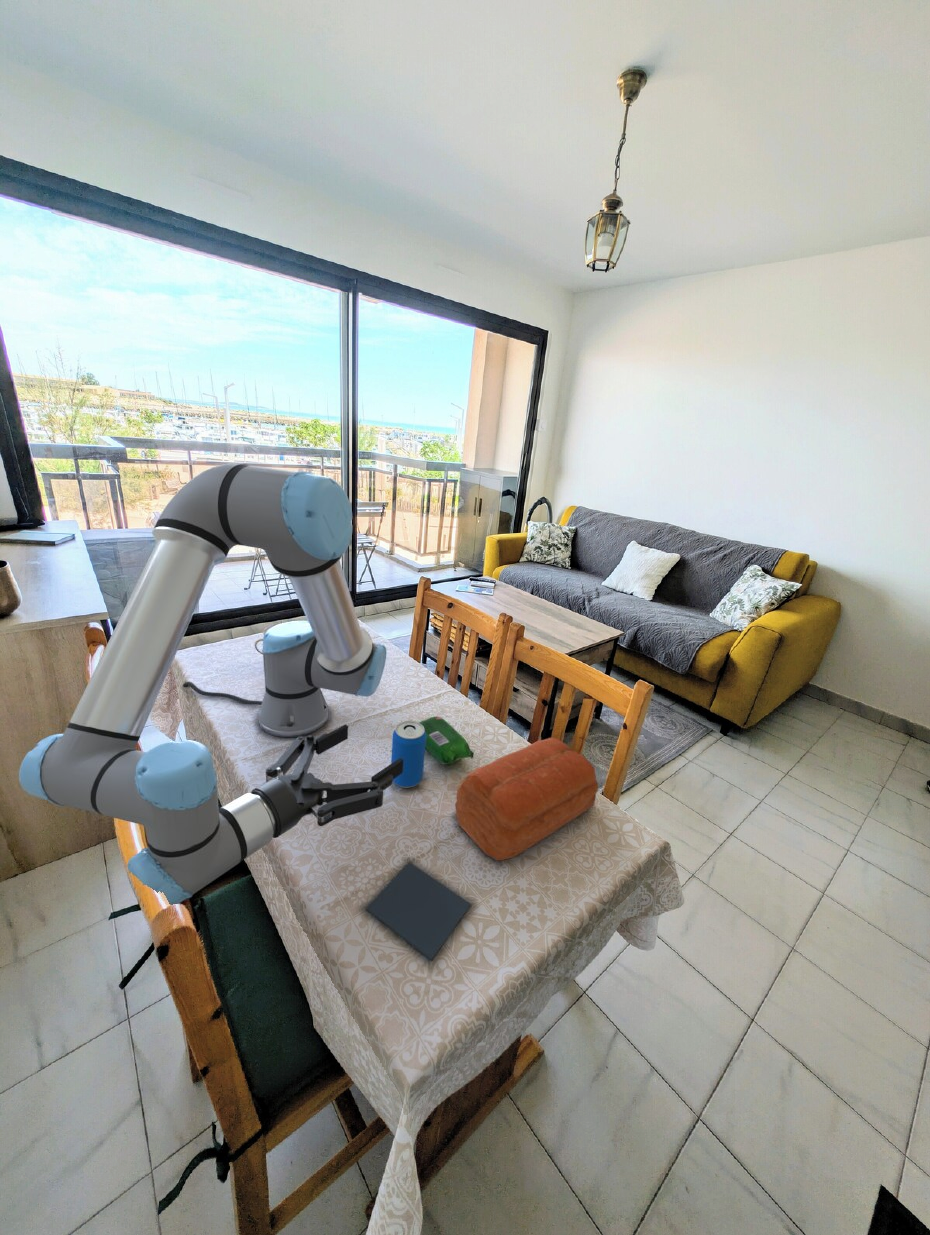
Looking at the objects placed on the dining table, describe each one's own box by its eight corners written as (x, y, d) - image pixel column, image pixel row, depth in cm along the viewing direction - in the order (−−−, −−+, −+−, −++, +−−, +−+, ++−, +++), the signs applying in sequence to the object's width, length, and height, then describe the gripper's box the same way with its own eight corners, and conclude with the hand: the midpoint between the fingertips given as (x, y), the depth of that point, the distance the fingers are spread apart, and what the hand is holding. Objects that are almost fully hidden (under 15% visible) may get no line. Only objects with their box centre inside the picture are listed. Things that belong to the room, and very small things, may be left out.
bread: (600, 808, 93) (612, 765, 89) (501, 873, 77) (510, 824, 73) (543, 763, 104) (551, 723, 100) (445, 812, 88) (451, 766, 84)
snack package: (446, 777, 97) (449, 756, 95) (409, 735, 108) (411, 716, 106) (474, 766, 101) (477, 746, 99) (435, 727, 112) (437, 708, 110)
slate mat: (365, 909, 69) (365, 907, 68) (409, 863, 77) (409, 861, 76) (431, 961, 63) (431, 959, 63) (470, 905, 71) (471, 903, 71)
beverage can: (420, 767, 98) (425, 719, 94) (423, 789, 92) (428, 739, 88) (389, 768, 97) (392, 719, 93) (390, 791, 91) (393, 739, 87)
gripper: (216, 793, 74) (326, 735, 90) (318, 887, 61) (425, 799, 77) (212, 754, 71) (326, 701, 87) (318, 843, 58) (428, 762, 74)
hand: (372, 747), depth 82 cm, fingers open, 13 cm apart
